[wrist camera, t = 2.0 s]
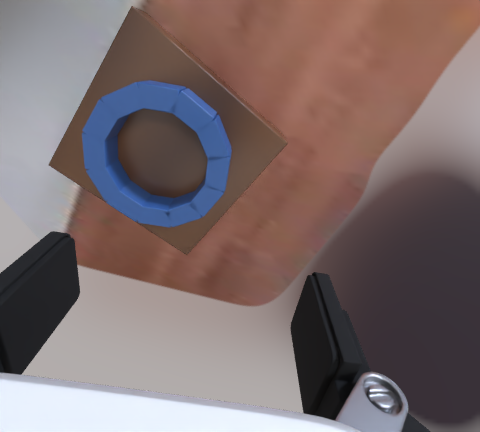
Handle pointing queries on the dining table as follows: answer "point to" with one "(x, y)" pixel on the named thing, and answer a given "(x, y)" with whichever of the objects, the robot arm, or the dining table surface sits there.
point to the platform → (169, 127)
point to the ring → (113, 174)
